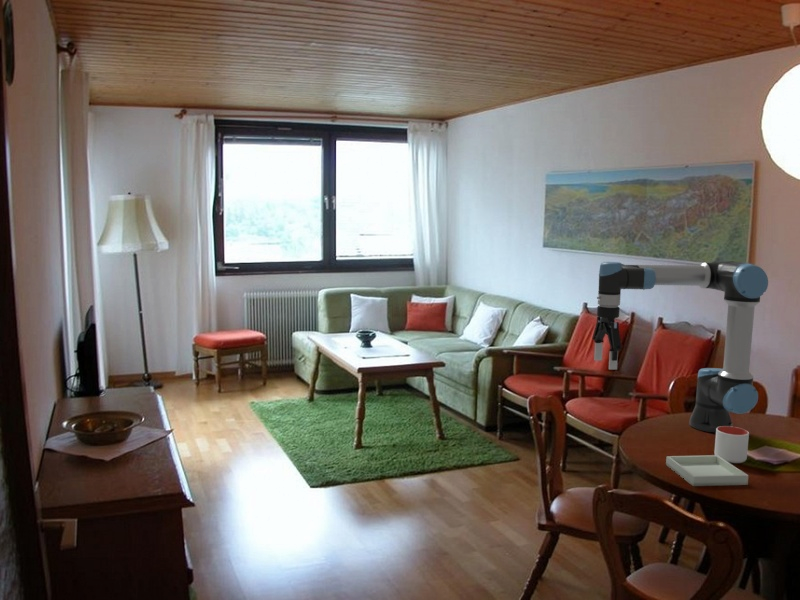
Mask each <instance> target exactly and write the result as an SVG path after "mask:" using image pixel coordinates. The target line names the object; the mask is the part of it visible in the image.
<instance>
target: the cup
mask: <svg viewBox="0 0 800 600" xmlns="http://www.w3.org/2000/svg"><path fill="white" fill-rule="evenodd" d="M749 436H750V432H749V431H748V430H747V429H744V428H741V427H738V426H733V425H732V426H720V427H717V428H716V433H715V440H714V452H713V453H714V454H713V455H718V456H719V457H721V458H722V459H724V460H726V461H727V462H729V463H730V464H741V463H745V462H746V461H747V458H748V452H749V451H748V448H749V439H750V437H749Z"/></svg>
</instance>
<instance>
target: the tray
mask: <svg viewBox="0 0 800 600" xmlns="http://www.w3.org/2000/svg"><path fill="white" fill-rule="evenodd" d="M665 461H666V462H665V466H667V467H668V468H669V469H670V468H671V470H672V471H673V472H674V471H675V472H674V473H676V475H678V476H679V475H680V476H679V477H681V478H682V479H683V478H684V479H683V480H685V481H686V482H687V483H688V484H690V486H692V487H712V486H713V487H714V486H746V485H747V486H748V485H749V474H747V473H746V472H744V471H743V470H741V469H739V468H737V467H736V466H735V465H733V463H729V462H727V461H726V460H724V459H722V458H721V457H719V456H718V455H715V454H711V455H671V456H666V459H665Z"/></svg>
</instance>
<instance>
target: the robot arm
mask: <svg viewBox="0 0 800 600" xmlns="http://www.w3.org/2000/svg"><path fill="white" fill-rule="evenodd" d="M598 273H599V274H598V294H597V296H596V299H597V307H596V308H597V310H596V316H597V318H596V322H595V327H594V332H593V336H592V341H593V342H594V355H593V358H594V359H593V360H594V361H595V362H598V361H599V362H602V361H603V351H604V349H603V348H604V347H603V346H604V342H605V341H604V338H605V336H606V335H607V338H608V344H609V347H610V348H609V350H608V352H609V355H608V370H611V371H612V370H618V360H619V359H618V358H619V351H622V343H621V336H620V328H619V327H620V324H619V323H620V322H618V321H616V322H615V319H617V318H619V317H620V307H619V306H620V305H621V295H622V293H621V290H643V291H645V290H652V289H654V287H655V286H690V287H692V286H696V287H697V286H699V288H701V289H711V290H716V291H720V292H723V293H724V296H723V301H725V303H726V304H727V317H726V329H725V342H724V352H723V353H724V354H723V364H722V365H723V366H722V368H719V367H718V368H717V367H704V368H700V369H699V370H698V372H697V377H696V378H697V380H696V381H697V383H696V396H695V406H694V408H693V411H692V412H691V415H690V418H689V423H688V425H689V426H690V427H692V428H694V429H697V430H698V431H702V432H706V433H707V432H709V433H715V434H716V428H717V427H720V426H732V427H733V422H732V419H731V415H730V413H734V414H738V415H742V414H746V413H748V412H750V411H751V410H752V409H754V408H755V406H756V405H757V404H758V400H759V392H758V391H757V389H756V387H755V386H754V385H753V384H754V376H753V375H752V373H750V372H751V371H750V367H751V366H750V364H751V354H752V353H751V351H752V340H753V331H754V330H753V328H754V318H755V307H756V306H757V305H758V304H759V303H760V302H761V296H763V295H764V293H765V292H766V291H767V289H768V287H769V278H768V274H767V273H766V271H765V270H764V269H763V268H761V267H760V266H758V265H755V264H753V263H748V262H741V261H740V262H739V261H733V260H729V261H728V260H727V261H725V260H724V261H716V262H701V263H700V264H699V265H698V264H695V265H693V264H692V265H691V264H690V265H689V264H624V263H621V262H620V261H603V262H601V263H600V265H599V271H598Z"/></svg>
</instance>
